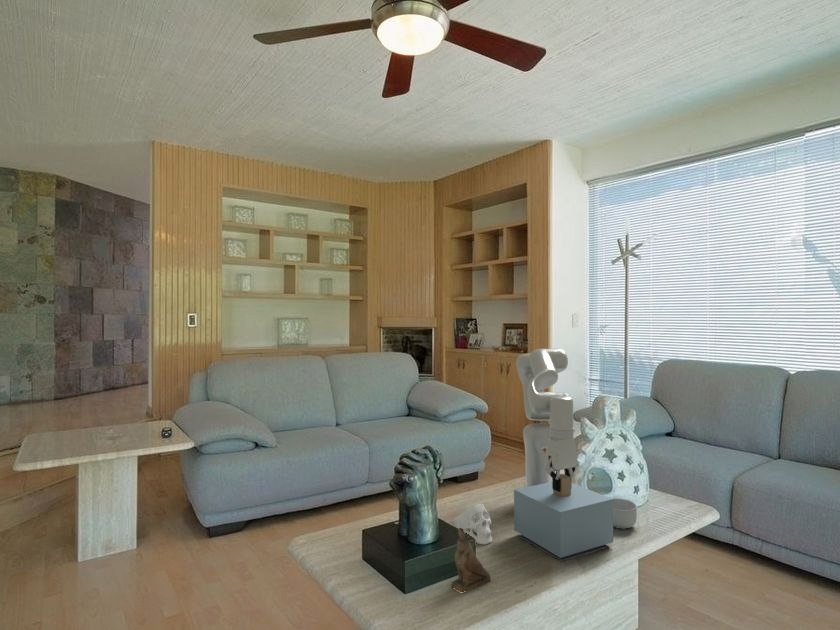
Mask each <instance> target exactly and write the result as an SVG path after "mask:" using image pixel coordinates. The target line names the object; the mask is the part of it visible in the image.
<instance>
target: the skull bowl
mask: <svg viewBox="0 0 840 630" xmlns="http://www.w3.org/2000/svg"><path fill="white" fill-rule="evenodd" d="M453 523H454V525H455V527H456V529H457V528H458V529H459V528H462V529H463V531H464V532H465V533H467V534H469V535H471V536H473V537H475V539H476V542H477V543H476V542H475V543H476V544H479V545H488V544H492V543H493V538H492V535H491V533H492V530H491V529H490V526H491V525H492V520H491V518H490V515H489V512H488V511H487V509H486V507H485V505H484V504H483V503H478V504H475V505H472V506H470V507H469V508H467V509H465V510H464V511H462V512H461V513H460V514H458V516H456V517H455V518H454V520H453ZM458 529H457V530H458ZM467 534H466V535H467Z"/></svg>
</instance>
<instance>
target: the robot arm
mask: <svg viewBox="0 0 840 630" xmlns="http://www.w3.org/2000/svg"><path fill="white" fill-rule="evenodd" d="M515 362H516V370H517V371H516V372H517V375H518V378H519V380H520V383H521V385H522V391H523V395H522V396H523V405H524V412H525V413H524V414H525V416H526V418H527V420H531V421H549V423H545V422H544V423H542V422H541V423H540V422H539V423H530V424H527V425H525V426H524V427H523V431H522V436H523V437H522V438H523V444H524V452H525V453H524V454H525V487H529V486H534V485H539V484H544V483H549V482H552V488H553V490H556V491H558V492H560V479H559V475H560V474H561V471H562V470H563V471H564V473H563V474H565V475H567V476H570V477H571V478H572V477H573V476H574V473H575V471H576V469H577V468H579V466H580V464H579V462H578V460H577V458H578V456H577V455H578V454H577V446H576V439H575V437H574V433H575V432H576V431H575V429H574V399H573V398H572V397H571V395H570V394H569V393H568V392H564V391H555V392H554V391H545V390H546V389H549V388H551V387H552V386H554V385H555V384H556V383H557V382H558V379H559V373H561V372H564V371H565V370H567V368H568V365H569V359H568V355H567V353H566V352H565V351H564V349H561V348H536V349H534V350H532V351H531V352H530V353H522V354H520V355H518V356H517V357H516V361H515ZM544 449H545V450H544ZM551 480H552V481H551Z"/></svg>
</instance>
